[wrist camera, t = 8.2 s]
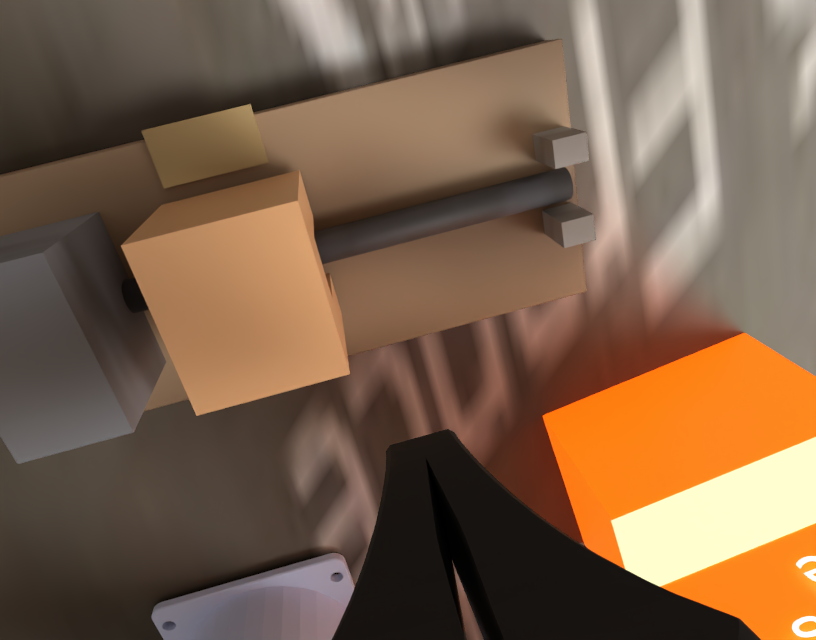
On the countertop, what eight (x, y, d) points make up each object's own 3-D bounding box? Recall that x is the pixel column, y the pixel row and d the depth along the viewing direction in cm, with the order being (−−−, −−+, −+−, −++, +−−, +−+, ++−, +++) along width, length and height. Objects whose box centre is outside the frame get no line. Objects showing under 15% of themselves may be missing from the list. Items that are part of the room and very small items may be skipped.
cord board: (573, 287, 22) (647, 350, 17) (108, 412, 21) (50, 516, 16) (545, 29, 18) (630, 18, 13) (-19, 167, 17) (-143, 208, 12)
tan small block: (341, 312, 19) (350, 373, 15) (218, 345, 19) (196, 415, 15) (299, 169, 17) (297, 200, 13) (161, 204, 17) (120, 245, 13)
